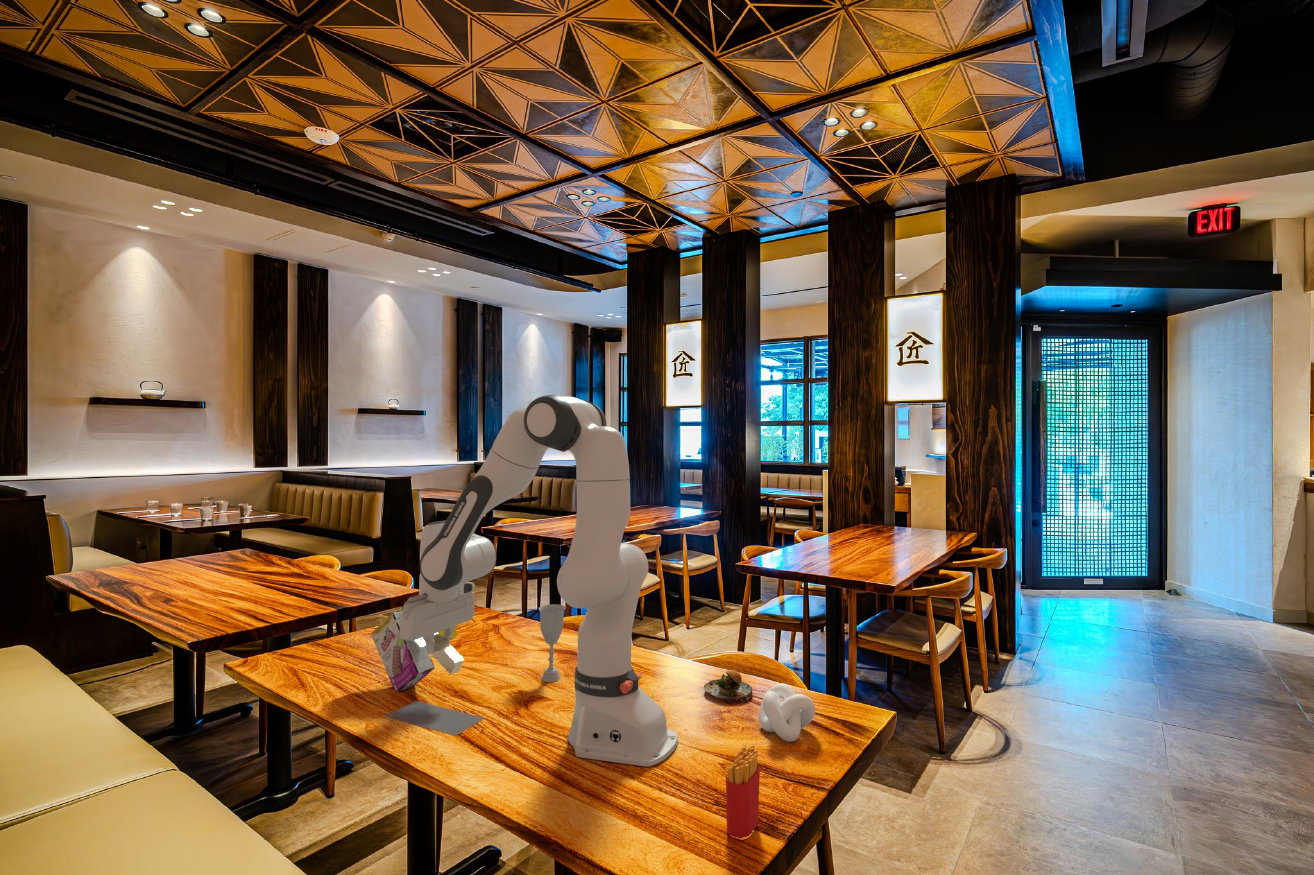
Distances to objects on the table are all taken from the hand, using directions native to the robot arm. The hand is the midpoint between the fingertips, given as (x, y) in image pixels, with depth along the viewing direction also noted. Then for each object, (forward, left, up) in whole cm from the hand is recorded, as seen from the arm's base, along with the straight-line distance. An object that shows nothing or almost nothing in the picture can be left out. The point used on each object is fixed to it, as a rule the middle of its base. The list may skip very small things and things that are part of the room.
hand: (438, 649), depth 144 cm
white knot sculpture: (-76, -20, -12) cm, 80 cm away
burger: (-59, -35, -13) cm, 70 cm away
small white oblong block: (+2, 0, 0) cm, 2 cm away
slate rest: (-7, +8, -12) cm, 16 cm away
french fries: (-78, +15, -12) cm, 80 cm away
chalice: (-15, -24, -12) cm, 31 cm away
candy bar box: (+7, 0, -9) cm, 11 cm away
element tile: (+38, -33, -13) cm, 52 cm away
